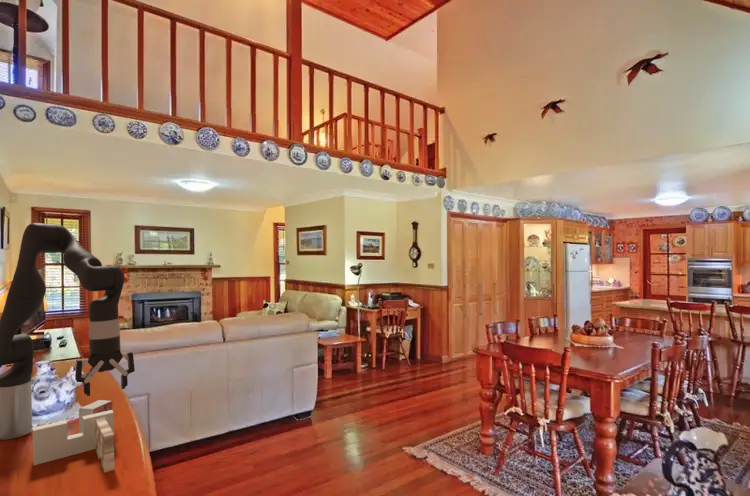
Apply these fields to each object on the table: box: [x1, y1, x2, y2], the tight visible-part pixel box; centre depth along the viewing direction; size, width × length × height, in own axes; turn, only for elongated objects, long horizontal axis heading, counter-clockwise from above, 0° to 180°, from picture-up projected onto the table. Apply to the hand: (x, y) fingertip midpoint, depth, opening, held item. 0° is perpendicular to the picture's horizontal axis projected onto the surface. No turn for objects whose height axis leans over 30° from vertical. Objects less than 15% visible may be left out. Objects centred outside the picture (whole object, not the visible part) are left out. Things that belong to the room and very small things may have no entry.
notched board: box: [32, 409, 115, 466], centre depth 130 cm, size 20×3×10 cm, turn 131°
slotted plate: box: [95, 417, 116, 474], centre depth 124 cm, size 16×2×10 cm, turn 41°
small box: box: [78, 399, 113, 433], centre depth 141 cm, size 8×6×10 cm
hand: (106, 391), depth 122 cm, fingers open, 8 cm apart
